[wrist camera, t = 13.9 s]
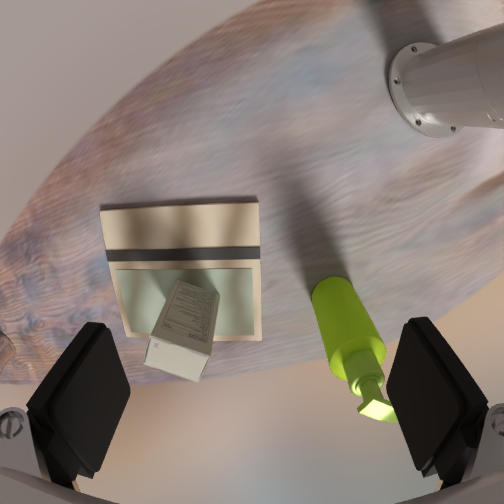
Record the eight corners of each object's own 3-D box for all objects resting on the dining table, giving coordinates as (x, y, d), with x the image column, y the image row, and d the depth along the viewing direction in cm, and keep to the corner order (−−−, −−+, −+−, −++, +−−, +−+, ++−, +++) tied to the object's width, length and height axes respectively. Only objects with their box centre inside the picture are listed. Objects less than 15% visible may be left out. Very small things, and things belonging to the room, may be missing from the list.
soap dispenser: (342, 324, 42) (383, 437, 23) (302, 303, 41) (329, 424, 22) (367, 291, 40) (429, 398, 21) (328, 268, 39) (378, 379, 20)
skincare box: (167, 304, 40) (139, 363, 29) (176, 277, 39) (146, 333, 27) (212, 321, 41) (198, 385, 29) (223, 295, 39) (210, 357, 28)
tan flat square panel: (258, 201, 36) (258, 203, 35) (261, 337, 43) (261, 341, 42) (102, 210, 36) (99, 212, 35) (128, 333, 43) (126, 337, 42)
